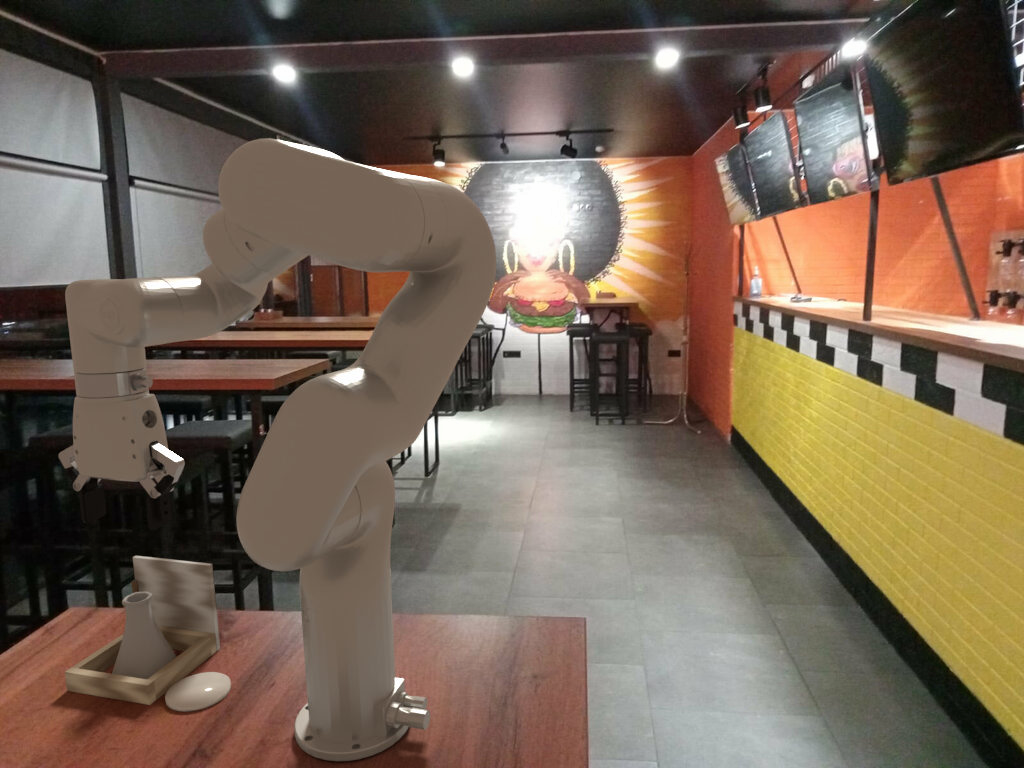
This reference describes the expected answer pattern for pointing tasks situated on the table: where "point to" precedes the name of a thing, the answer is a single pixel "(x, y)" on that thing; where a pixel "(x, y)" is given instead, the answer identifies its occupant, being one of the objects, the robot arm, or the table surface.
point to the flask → (141, 640)
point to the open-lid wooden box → (182, 620)
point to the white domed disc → (198, 691)
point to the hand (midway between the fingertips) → (127, 522)
